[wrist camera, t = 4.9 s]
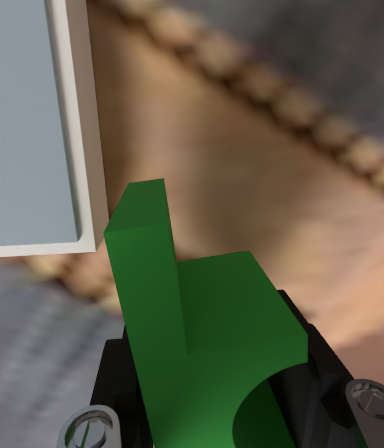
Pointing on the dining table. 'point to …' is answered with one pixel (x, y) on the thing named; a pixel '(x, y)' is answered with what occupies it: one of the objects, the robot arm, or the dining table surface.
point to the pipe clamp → (200, 332)
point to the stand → (49, 131)
